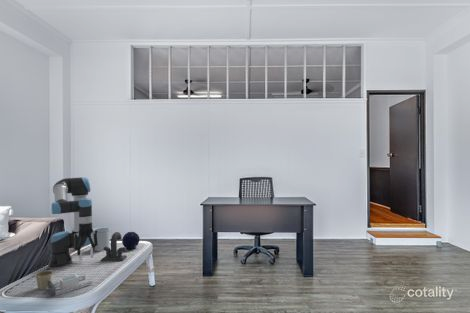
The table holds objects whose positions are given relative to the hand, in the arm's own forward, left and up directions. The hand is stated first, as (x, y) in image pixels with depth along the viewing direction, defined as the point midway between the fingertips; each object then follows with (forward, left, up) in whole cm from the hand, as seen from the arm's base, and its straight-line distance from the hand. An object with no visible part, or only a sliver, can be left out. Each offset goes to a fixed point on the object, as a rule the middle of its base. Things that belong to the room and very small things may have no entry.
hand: (86, 258), depth 186 cm
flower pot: (-11, -21, -15) cm, 28 cm away
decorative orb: (-48, +51, -15) cm, 72 cm away
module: (0, -10, -15) cm, 18 cm away
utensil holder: (-66, +32, -15) cm, 75 cm away
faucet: (-33, +32, -15) cm, 48 cm away
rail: (0, -10, -15) cm, 18 cm away
